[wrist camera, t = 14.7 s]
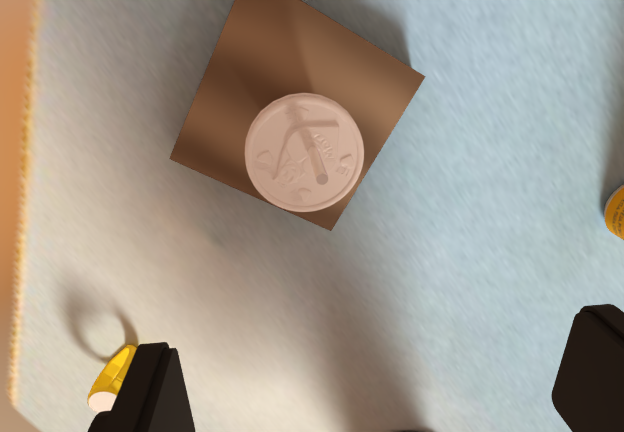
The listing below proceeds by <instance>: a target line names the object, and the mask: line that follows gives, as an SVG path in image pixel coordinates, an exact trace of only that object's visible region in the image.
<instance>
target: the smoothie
mask: <svg viewBox="0 0 624 432" xmlns="http://www.w3.org/2000/svg"><path fill="white" fill-rule="evenodd" d="M363 160H364V146H363V140H362V137H361V134H360V131H359V129H358V127H357V125H356V123H355V122H354V120H353V119H352V117H351V116H350V114H349V113H348V111H346V110H345V109H344V108H343V107H342V106H340V105H339V104H338V103H337V102H336V101H333V100H331V99H329V98H327V97H324V96H322V95H318V94H311V93H298V94H290V95H287V96H284V97H282V98H280V99H277V100H275V101H273V102H272V103H270V104H269V105H268V106H267V107H265V108H264V109H263V110H262V111H260V113H259V114H258V116H257V117H256V118H255V120H254V121H253V122H252V124H251V126H250V129H249V131H248V134H247V137H246V142H245V162H246V168H247V171H248V175H249V177H250V179H251V181H252V183H253V185H254V186H255V188H256V189H257V190H258V192H259V193H260V194H261V195H262V196H263V197H264V198H266V199H267V200H268V201H269V202H271V203H273V204H274V205H276V206H278V207H281V208H283V209H286V210H290V211H296V212H311V211H317V210H321V209H324V208H326V207H329V206H331V205H333V204H335V203H336V202H338V201H339V200H341V199H342V198H343V197H344V196H345V195H346V194H347V193H348V192H349V191H350V190H351V189H352V187H353V186H354V185H355V183H356V181H357V179H358V177H359V175H360V173H361V170H362V166H363Z"/></svg>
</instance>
